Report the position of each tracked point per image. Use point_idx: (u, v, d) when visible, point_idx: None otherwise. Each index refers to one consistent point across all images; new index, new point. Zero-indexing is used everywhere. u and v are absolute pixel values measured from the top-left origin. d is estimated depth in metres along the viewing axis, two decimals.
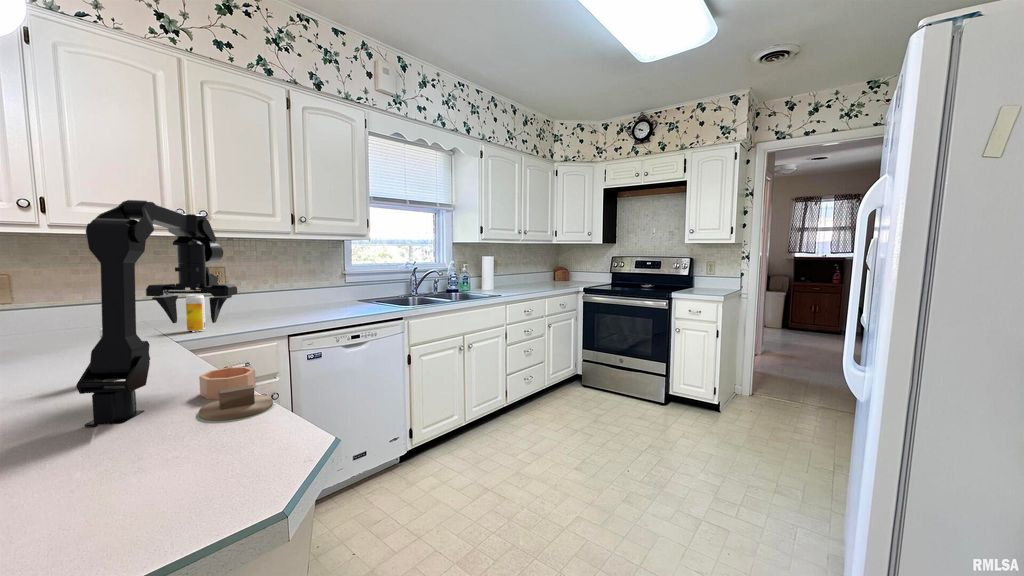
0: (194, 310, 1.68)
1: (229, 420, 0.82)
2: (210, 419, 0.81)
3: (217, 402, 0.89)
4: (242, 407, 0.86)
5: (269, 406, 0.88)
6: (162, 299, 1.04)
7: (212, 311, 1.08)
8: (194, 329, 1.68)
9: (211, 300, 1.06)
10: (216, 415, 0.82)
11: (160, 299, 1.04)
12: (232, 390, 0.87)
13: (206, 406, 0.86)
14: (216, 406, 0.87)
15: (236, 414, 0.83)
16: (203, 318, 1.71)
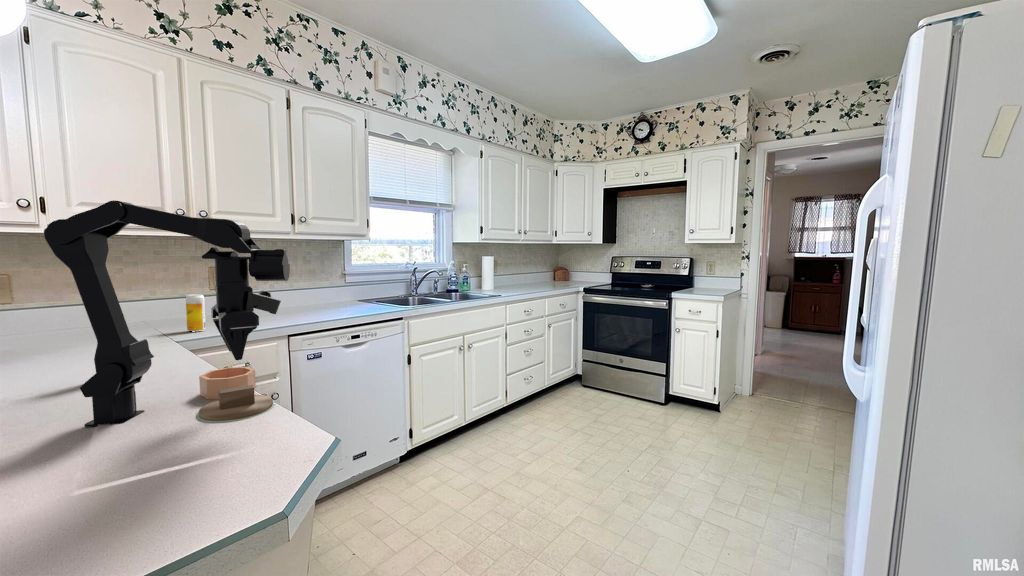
0: (194, 310, 1.68)
1: (229, 420, 0.82)
2: (210, 419, 0.81)
3: (217, 402, 0.89)
4: (242, 407, 0.86)
5: (269, 406, 0.88)
6: (214, 322, 0.89)
7: (228, 345, 0.82)
8: (194, 329, 1.68)
9: None
10: (216, 415, 0.82)
11: (214, 322, 0.89)
12: (232, 390, 0.87)
13: (206, 406, 0.86)
14: (216, 406, 0.87)
15: (236, 414, 0.83)
16: (203, 318, 1.71)
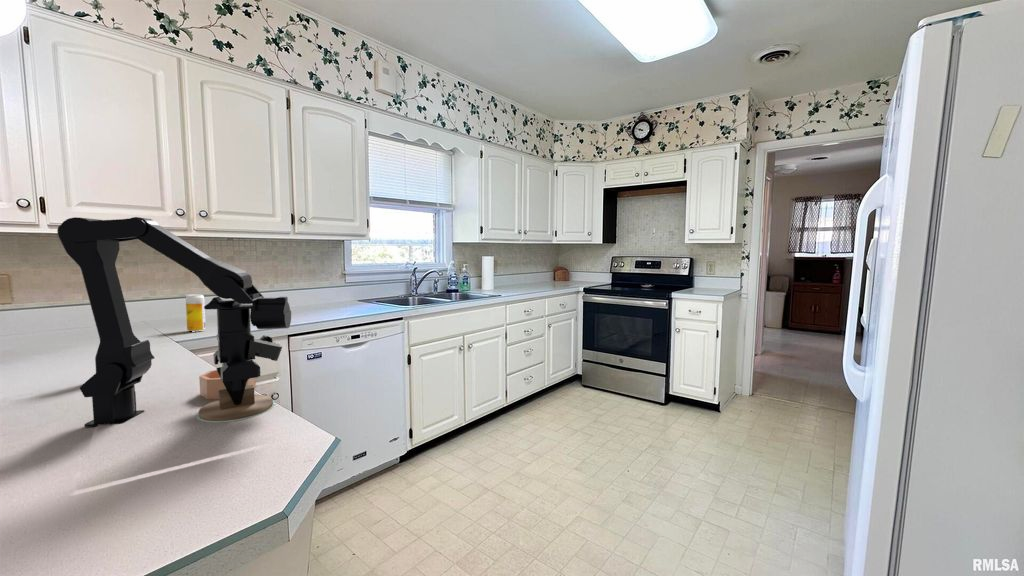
0: (194, 310, 1.68)
1: (229, 420, 0.82)
2: (210, 419, 0.81)
3: (217, 402, 0.89)
4: (242, 407, 0.86)
5: (269, 406, 0.88)
6: (218, 372, 0.87)
7: (228, 391, 0.85)
8: (194, 329, 1.68)
9: None
10: (216, 415, 0.82)
11: None
12: None
13: (206, 406, 0.86)
14: (216, 406, 0.87)
15: (236, 414, 0.83)
16: (203, 318, 1.71)
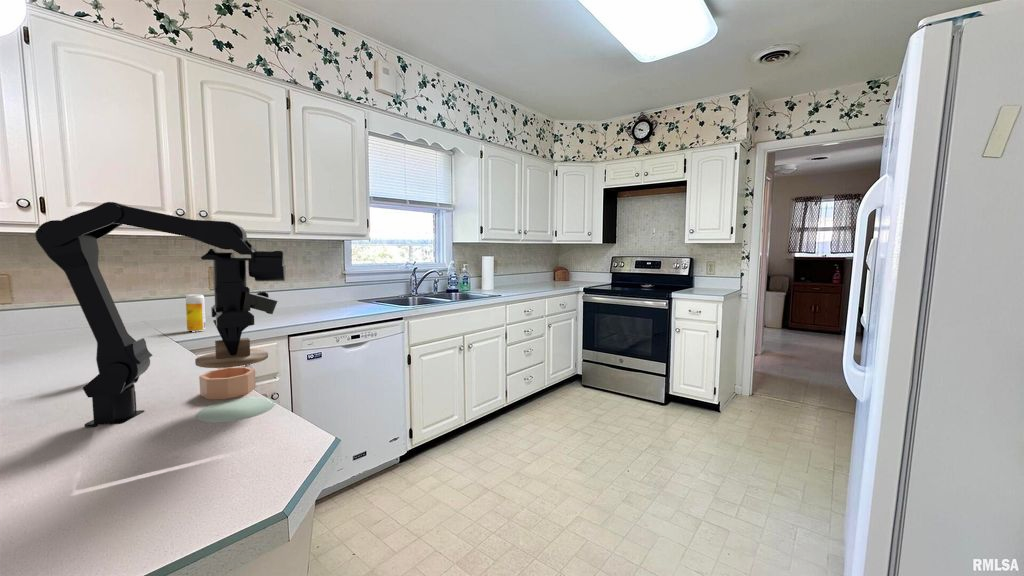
0: (194, 310, 1.68)
1: (229, 420, 0.82)
2: (205, 365, 0.83)
3: (214, 354, 0.91)
4: (237, 357, 0.88)
5: (264, 358, 0.90)
6: (214, 323, 0.89)
7: (223, 341, 0.87)
8: (194, 329, 1.68)
9: None
10: (211, 362, 0.84)
11: (214, 323, 0.89)
12: None
13: (203, 356, 0.88)
14: (212, 357, 0.88)
15: (231, 362, 0.85)
16: (203, 318, 1.71)
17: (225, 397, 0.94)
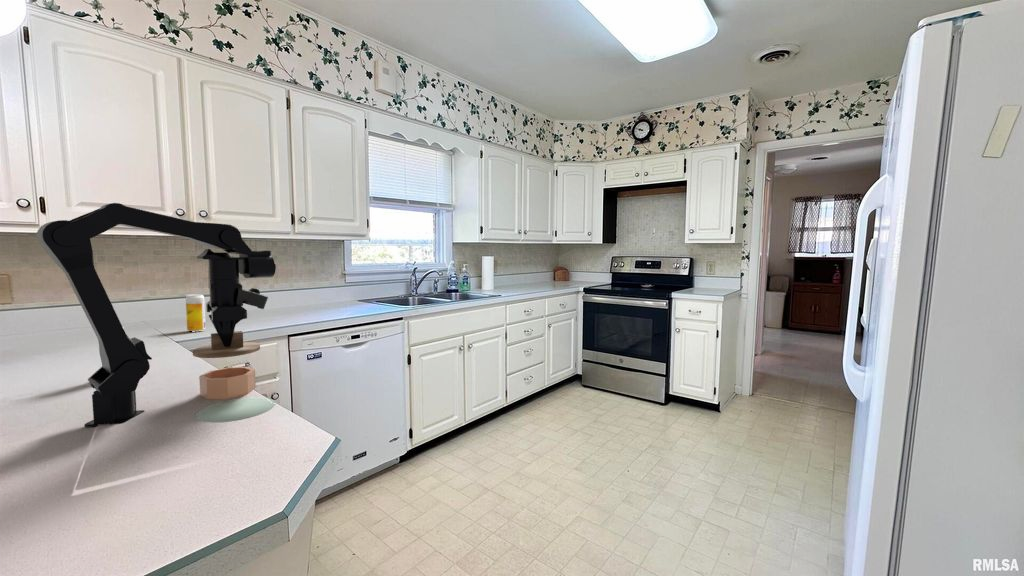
0: (194, 310, 1.68)
1: (229, 420, 0.82)
2: (202, 356, 0.91)
3: (209, 346, 0.99)
4: (231, 349, 0.96)
5: (256, 349, 0.98)
6: (209, 317, 0.97)
7: None
8: (194, 329, 1.68)
9: (212, 321, 0.93)
10: (208, 353, 0.92)
11: (209, 317, 0.97)
12: None
13: (200, 348, 0.96)
14: (208, 348, 0.96)
15: (226, 353, 0.92)
16: (203, 318, 1.71)
17: (225, 397, 0.94)
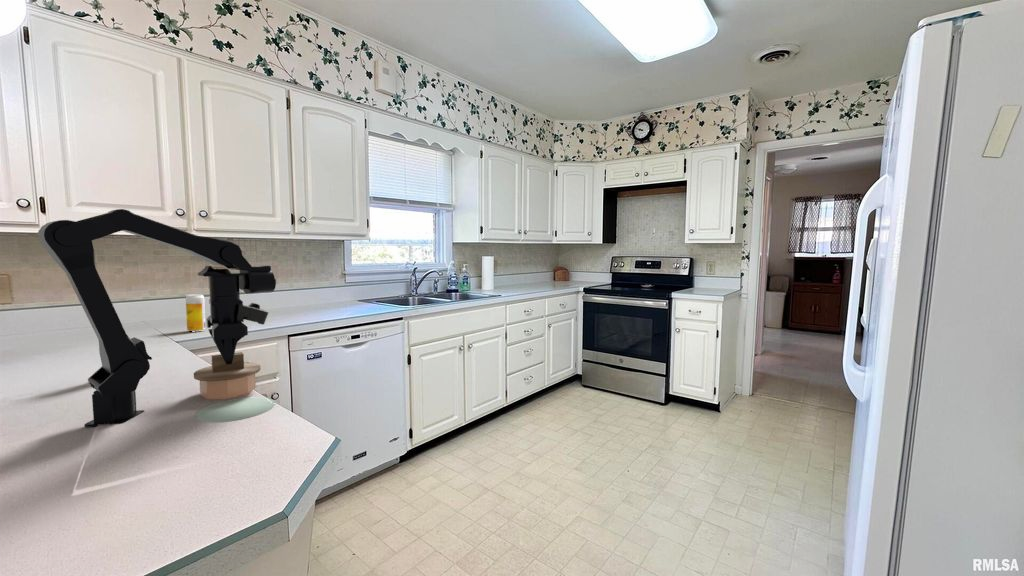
0: (194, 310, 1.68)
1: (229, 420, 0.82)
2: (203, 379, 0.92)
3: (210, 367, 0.99)
4: (232, 371, 0.97)
5: (257, 370, 0.99)
6: (209, 332, 0.98)
7: (219, 351, 0.94)
8: (194, 329, 1.68)
9: None
10: (209, 376, 0.92)
11: (209, 332, 0.99)
12: None
13: (200, 370, 0.97)
14: (209, 370, 0.97)
15: (227, 375, 0.93)
16: (203, 318, 1.71)
17: (225, 397, 0.94)
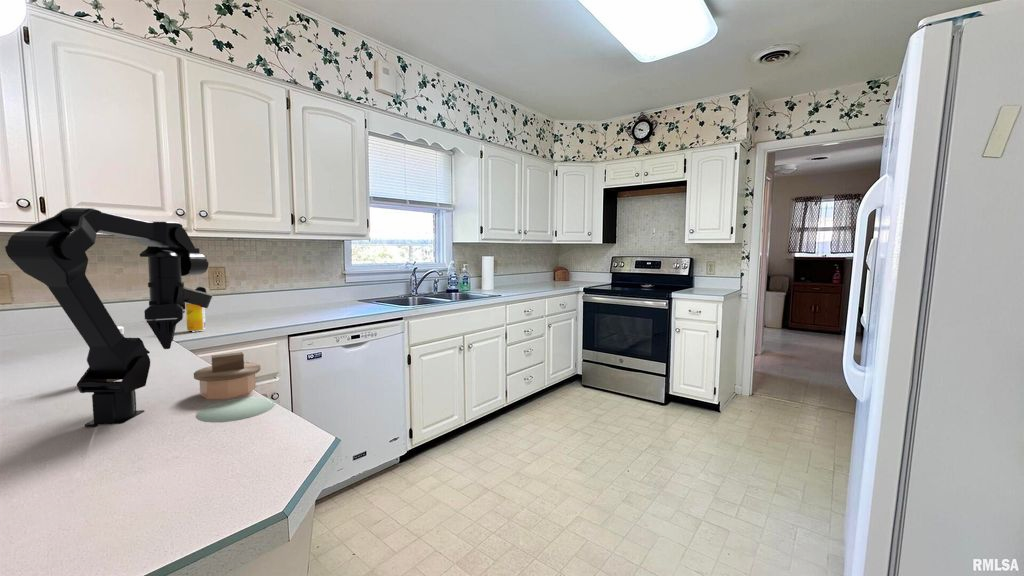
0: (194, 310, 1.68)
1: (229, 420, 0.82)
2: (203, 379, 0.92)
3: (210, 367, 0.99)
4: (232, 371, 0.97)
5: (257, 370, 0.99)
6: None
7: (156, 335, 0.90)
8: (194, 329, 1.68)
9: None
10: (209, 376, 0.92)
11: None
12: (223, 355, 0.97)
13: (200, 370, 0.97)
14: (209, 370, 0.97)
15: (227, 375, 0.93)
16: (203, 318, 1.71)
17: (225, 397, 0.94)
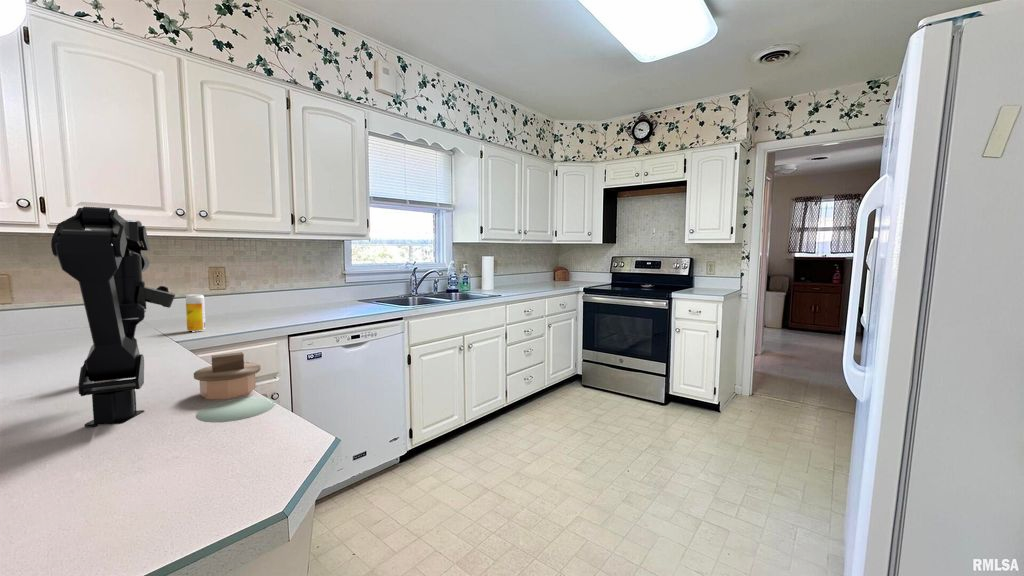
0: (194, 310, 1.68)
1: (229, 420, 0.82)
2: (203, 379, 0.92)
3: (210, 367, 0.99)
4: (232, 371, 0.97)
5: (257, 370, 0.99)
6: None
7: None
8: (194, 329, 1.68)
9: None
10: (209, 376, 0.92)
11: None
12: (223, 355, 0.97)
13: (200, 370, 0.97)
14: (209, 370, 0.97)
15: (227, 375, 0.93)
16: (203, 318, 1.71)
17: (225, 397, 0.94)
